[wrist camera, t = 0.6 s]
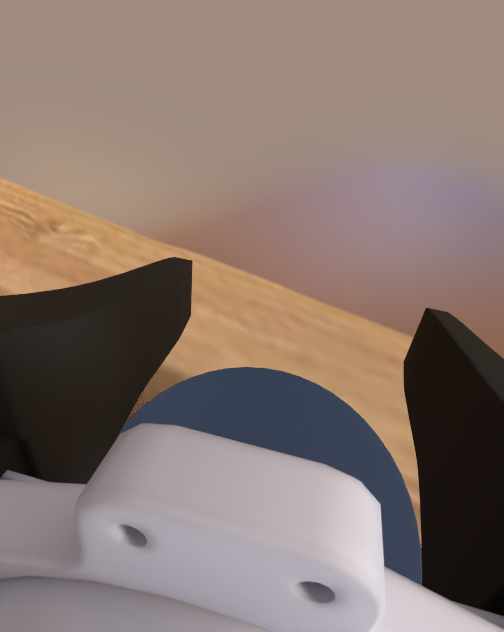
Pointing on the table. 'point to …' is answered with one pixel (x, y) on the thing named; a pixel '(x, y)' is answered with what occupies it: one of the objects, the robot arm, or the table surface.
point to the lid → (296, 438)
